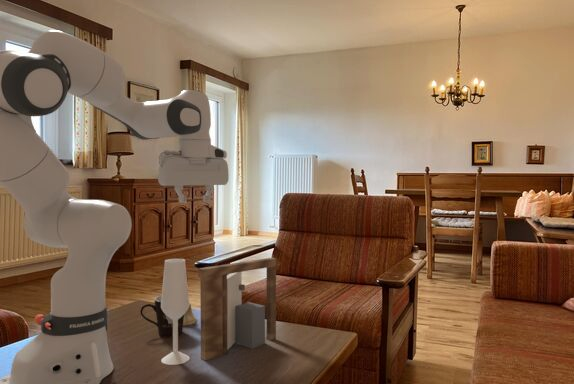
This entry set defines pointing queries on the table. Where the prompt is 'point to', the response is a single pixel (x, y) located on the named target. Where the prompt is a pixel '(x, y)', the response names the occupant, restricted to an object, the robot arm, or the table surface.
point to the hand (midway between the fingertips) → (194, 202)
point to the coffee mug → (163, 320)
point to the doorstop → (250, 324)
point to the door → (233, 303)
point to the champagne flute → (175, 303)
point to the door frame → (216, 303)
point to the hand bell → (189, 315)
